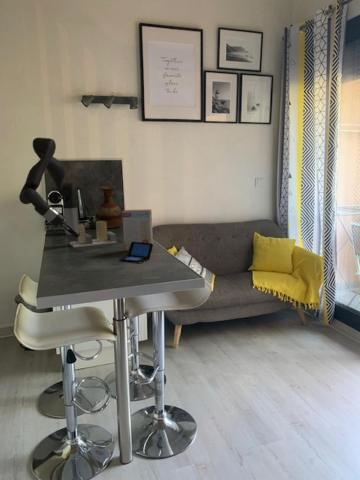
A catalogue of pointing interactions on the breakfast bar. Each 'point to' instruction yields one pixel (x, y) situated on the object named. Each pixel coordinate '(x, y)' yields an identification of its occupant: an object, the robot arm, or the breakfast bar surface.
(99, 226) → the brass block
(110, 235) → the vise
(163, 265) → the breakfast bar surface
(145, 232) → the cracker box
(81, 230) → the sliding jaw
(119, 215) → the brown vase
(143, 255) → the handheld game console
